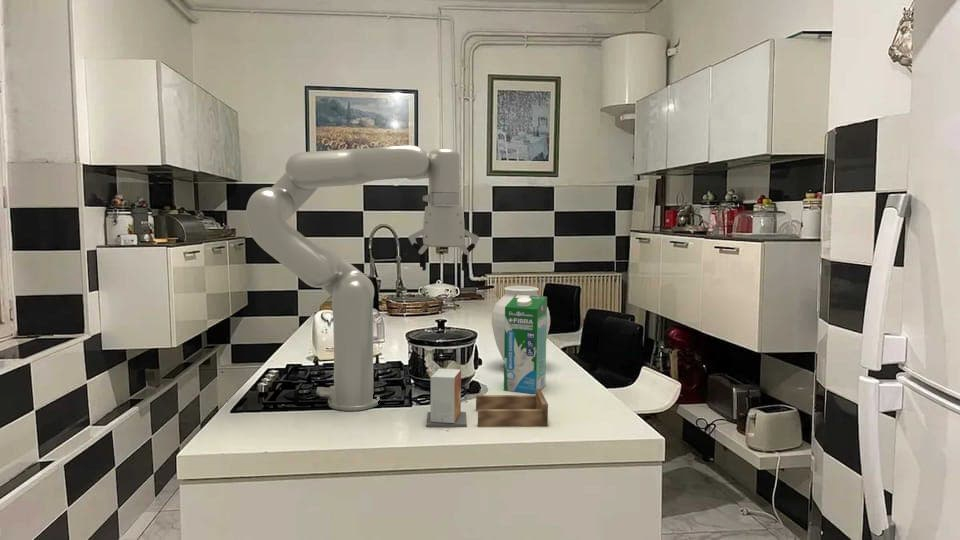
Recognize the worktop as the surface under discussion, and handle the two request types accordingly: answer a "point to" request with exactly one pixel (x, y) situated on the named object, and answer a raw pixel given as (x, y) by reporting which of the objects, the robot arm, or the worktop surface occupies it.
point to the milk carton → (525, 344)
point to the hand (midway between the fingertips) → (443, 270)
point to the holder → (512, 410)
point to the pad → (459, 422)
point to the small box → (445, 395)
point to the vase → (499, 313)
